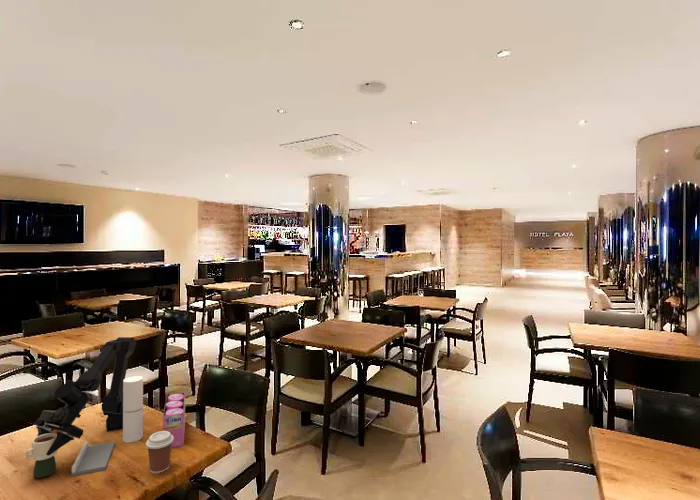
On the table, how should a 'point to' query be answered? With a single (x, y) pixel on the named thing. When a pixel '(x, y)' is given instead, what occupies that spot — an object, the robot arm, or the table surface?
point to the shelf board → (92, 458)
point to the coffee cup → (159, 451)
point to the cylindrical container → (132, 409)
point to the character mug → (43, 455)
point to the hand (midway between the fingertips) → (40, 453)
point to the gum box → (175, 417)
